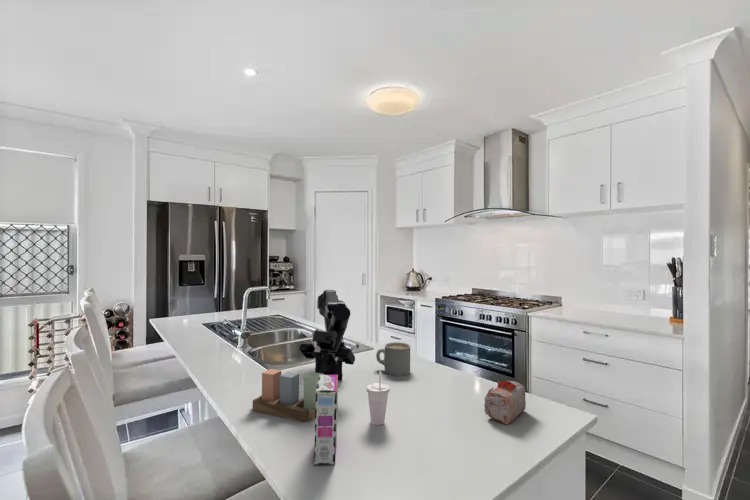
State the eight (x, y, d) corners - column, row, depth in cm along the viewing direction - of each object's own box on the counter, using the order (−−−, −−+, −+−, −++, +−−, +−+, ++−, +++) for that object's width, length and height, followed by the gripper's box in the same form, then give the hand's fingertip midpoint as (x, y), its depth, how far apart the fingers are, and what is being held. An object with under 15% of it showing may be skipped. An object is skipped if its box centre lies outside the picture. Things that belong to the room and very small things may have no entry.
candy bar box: (336, 465, 79) (337, 391, 79) (313, 466, 79) (314, 391, 79) (337, 438, 90) (338, 373, 90) (317, 439, 90) (318, 373, 90)
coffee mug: (413, 369, 143) (414, 344, 143) (404, 377, 134) (404, 350, 134) (383, 364, 149) (383, 340, 149) (372, 371, 140) (372, 345, 140)
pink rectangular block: (270, 400, 112) (270, 368, 112) (280, 403, 110) (281, 370, 110) (261, 406, 108) (262, 372, 108) (272, 408, 107) (272, 374, 107)
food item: (509, 428, 97) (510, 392, 97) (482, 419, 102) (482, 384, 102) (528, 412, 107) (528, 379, 107) (501, 404, 112) (502, 372, 112)
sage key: (310, 404, 110) (311, 371, 110) (322, 406, 108) (322, 373, 108) (303, 410, 106) (303, 376, 106) (315, 412, 104) (315, 378, 104)
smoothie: (387, 428, 96) (387, 376, 96) (363, 426, 97) (364, 374, 97) (390, 417, 102) (391, 368, 102) (368, 415, 103) (369, 366, 103)
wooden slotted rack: (271, 397, 115) (271, 387, 115) (327, 408, 107) (327, 398, 107) (249, 410, 106) (249, 399, 106) (309, 423, 98) (309, 412, 98)
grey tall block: (287, 404, 109) (288, 371, 109) (298, 406, 108) (299, 373, 108) (279, 409, 106) (280, 375, 106) (291, 412, 104) (291, 377, 104)
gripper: (301, 318, 121) (280, 359, 111) (351, 322, 113) (332, 367, 103) (315, 337, 128) (295, 378, 118) (362, 342, 120) (346, 386, 110)
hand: (316, 377), depth 112 cm, fingers closed
